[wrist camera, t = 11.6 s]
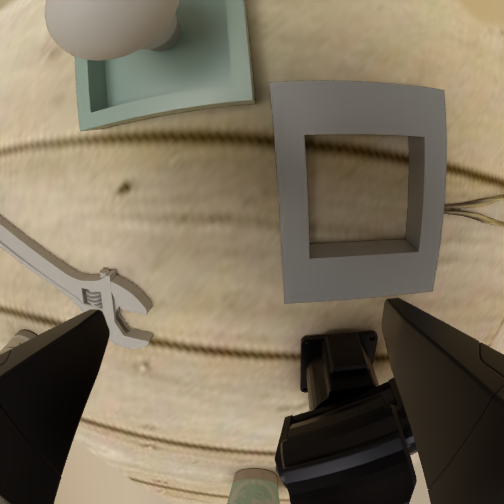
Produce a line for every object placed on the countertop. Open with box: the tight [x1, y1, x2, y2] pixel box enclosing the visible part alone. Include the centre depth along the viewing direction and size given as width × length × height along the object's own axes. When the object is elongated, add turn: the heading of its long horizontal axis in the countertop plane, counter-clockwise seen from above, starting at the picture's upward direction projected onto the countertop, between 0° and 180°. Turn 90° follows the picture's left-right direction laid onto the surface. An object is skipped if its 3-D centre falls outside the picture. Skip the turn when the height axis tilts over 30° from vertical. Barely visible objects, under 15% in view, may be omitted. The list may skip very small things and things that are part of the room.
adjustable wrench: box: [0, 215, 153, 349], centre depth 23 cm, size 25×6×2 cm, turn 56°
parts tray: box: [75, 0, 255, 131], centre depth 15 cm, size 11×11×3 cm
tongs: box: [444, 195, 504, 227], centre depth 20 cm, size 4×13×2 cm, turn 99°
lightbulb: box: [45, 0, 181, 61], centre depth 11 cm, size 6×6×11 cm
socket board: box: [270, 81, 447, 304], centre depth 19 cm, size 14×11×2 cm
